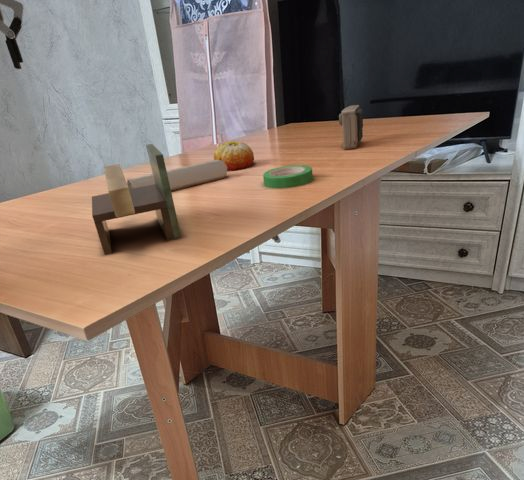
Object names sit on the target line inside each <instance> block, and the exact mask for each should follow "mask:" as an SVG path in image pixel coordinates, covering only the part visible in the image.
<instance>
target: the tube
mask: <svg viewBox="0 0 524 480" xmlns="http://www.w3.org/2000/svg"><path fill="white" fill-rule="evenodd" d="M166 171H167V175H168V180H169V184H170V189H171V192H174V191H178V190H182V189H186V188H190V187H194V186H197V185H202V184H207V183H211V182H214V181H219V180H223V179H225V178H226V177H227V176H228V171H227V166H226V164H225V163H224V162H223V161H221V160H214V159H213V160H209V161H205V162H200V163H196V164H195V163H194V164H191V165H185V166H181V167H178V168H172V169H168V170H166ZM126 183H127V185H128V188H129V189H133V188H138V187H143V186H148V185H153V184H155V181H154V177H153V173H150V174H145V175H142V176H141V175H140V176H136V177H132V178H130V177H127V179H126Z"/></svg>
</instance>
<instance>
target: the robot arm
mask: <svg viewBox="0 0 524 480" xmlns="http://www.w3.org/2000/svg"><path fill="white" fill-rule="evenodd" d="M0 5H1V6H3V7H7V8H8V9H11V10H12V11H13V18H12V20H11V22H10V25H9V26H8V25H7V24H5V18H4V14H3V12H2V9H1V7H0V32H1V33H2V34H4V37H5V40H4V41H5V44H6V47H7V51H8V54H9V56H10V59H11V62H12V64H13V67H14V69H16V70H22V65H21V64H22V63H24V60H23V55H22V54H21V53H22V52H21V51H20V47H19V45H18V42H17V39H18V35H19V33H20V31H21V30H22V27H23V25H24V24H23V21H24V14H25V6H24V4H23V3H21V2H20V1H17V0H0Z"/></svg>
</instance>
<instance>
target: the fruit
mask: <svg viewBox="0 0 524 480" xmlns="http://www.w3.org/2000/svg"><path fill="white" fill-rule="evenodd" d="M213 160H221V161H223V162H224V163H225V164H226V166H227V172H233V171H234V172H235V171H237V170H244V169H247V168H250V167H252V166H253V165H254V162H255V156H254V152H253V150H252V148H251V147H250V145H248V144H246V143H244V142H241V141H240V142H236V141H227V142H223V143H222V144H221V145H218V147H217V148H216V150H215V152H214V153H213Z"/></svg>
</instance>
